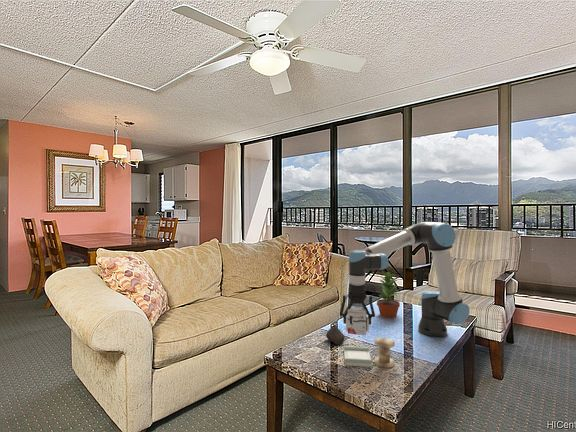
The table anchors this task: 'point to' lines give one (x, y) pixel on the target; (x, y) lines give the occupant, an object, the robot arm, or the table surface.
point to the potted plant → (388, 297)
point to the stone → (335, 336)
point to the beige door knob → (384, 352)
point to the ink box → (357, 320)
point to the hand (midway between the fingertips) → (357, 330)
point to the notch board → (357, 356)
